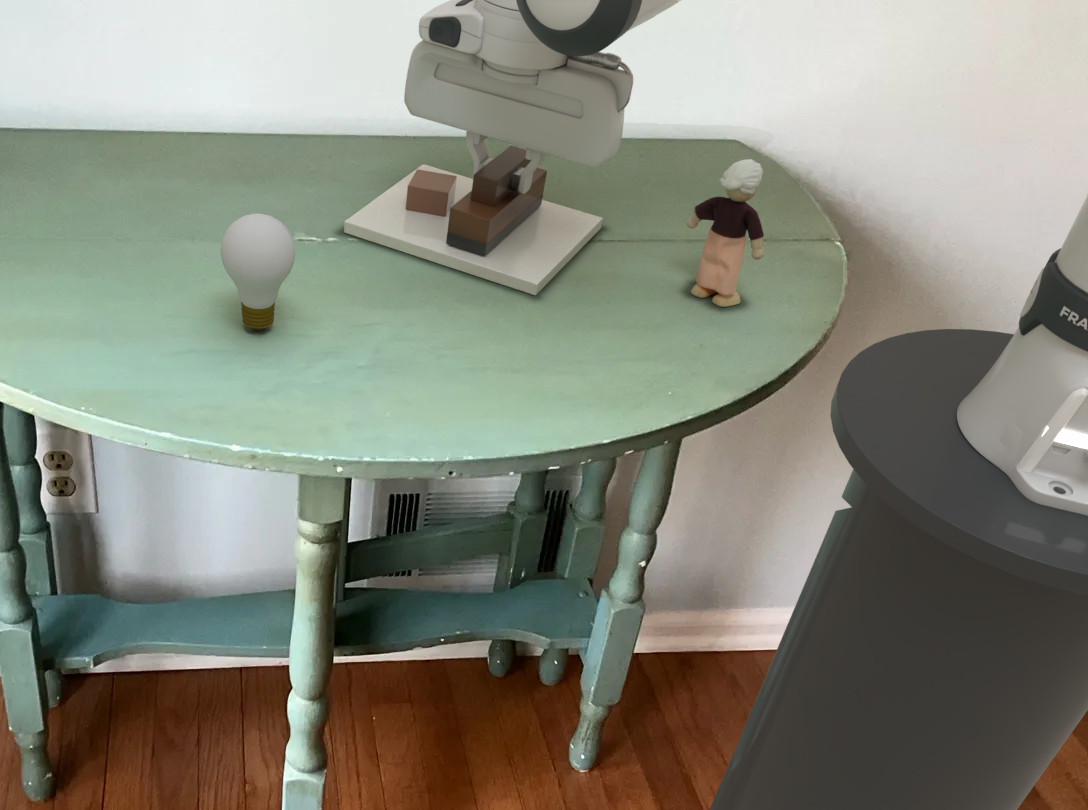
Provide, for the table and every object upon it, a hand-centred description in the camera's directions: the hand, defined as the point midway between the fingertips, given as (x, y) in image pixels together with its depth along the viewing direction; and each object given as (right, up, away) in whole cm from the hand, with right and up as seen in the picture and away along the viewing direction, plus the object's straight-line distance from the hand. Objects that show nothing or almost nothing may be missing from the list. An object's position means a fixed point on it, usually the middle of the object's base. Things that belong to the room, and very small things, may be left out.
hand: (500, 184), depth 111 cm
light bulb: (-22, -16, -11) cm, 29 cm away
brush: (0, -3, +3) cm, 4 cm away
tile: (-2, -3, +4) cm, 6 cm away
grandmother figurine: (+19, -11, -2) cm, 22 cm away
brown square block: (-6, -1, +5) cm, 8 cm away
